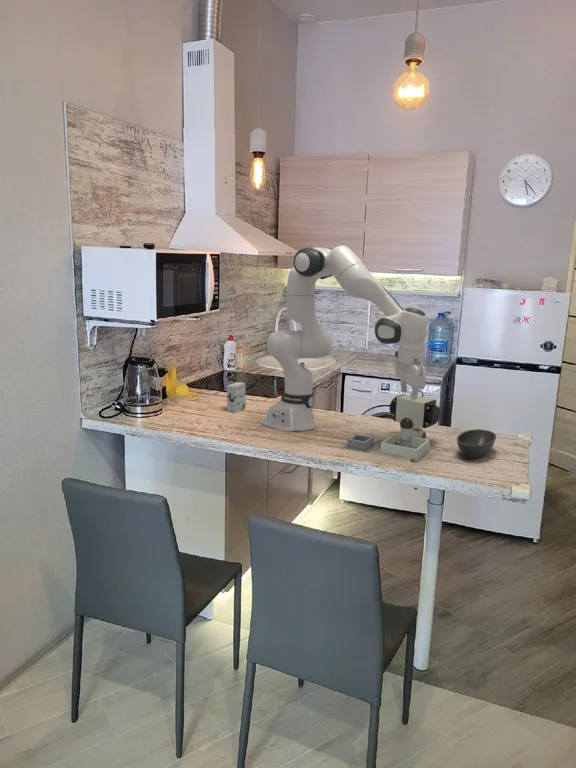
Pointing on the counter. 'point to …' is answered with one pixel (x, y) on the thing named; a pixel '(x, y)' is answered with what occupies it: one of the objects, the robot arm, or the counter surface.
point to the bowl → (475, 443)
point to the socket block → (360, 443)
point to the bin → (405, 451)
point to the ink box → (236, 397)
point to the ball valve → (415, 412)
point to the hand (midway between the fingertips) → (408, 395)
